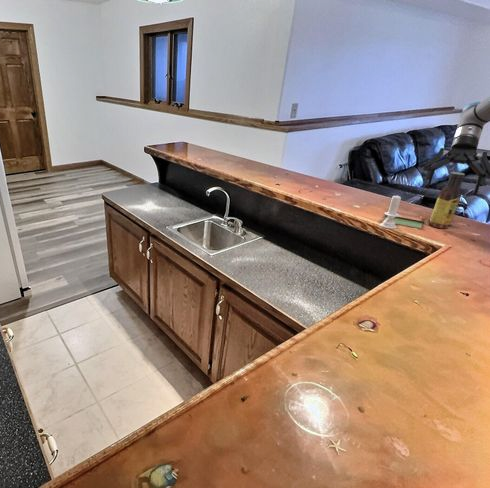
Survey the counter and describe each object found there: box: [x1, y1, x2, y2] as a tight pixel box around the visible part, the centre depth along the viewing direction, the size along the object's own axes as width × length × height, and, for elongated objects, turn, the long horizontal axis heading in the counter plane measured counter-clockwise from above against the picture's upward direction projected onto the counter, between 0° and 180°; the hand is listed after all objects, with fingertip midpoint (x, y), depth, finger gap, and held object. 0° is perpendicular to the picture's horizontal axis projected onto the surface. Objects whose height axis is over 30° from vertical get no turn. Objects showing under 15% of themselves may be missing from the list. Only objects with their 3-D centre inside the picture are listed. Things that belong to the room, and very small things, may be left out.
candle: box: [379, 194, 402, 230], centre depth 127 cm, size 5×5×12 cm
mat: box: [383, 214, 424, 230], centre depth 134 cm, size 12×10×1 cm
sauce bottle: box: [428, 171, 466, 230], centre depth 125 cm, size 6×6×20 cm
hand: (451, 189), depth 125 cm, fingers open, 13 cm apart
